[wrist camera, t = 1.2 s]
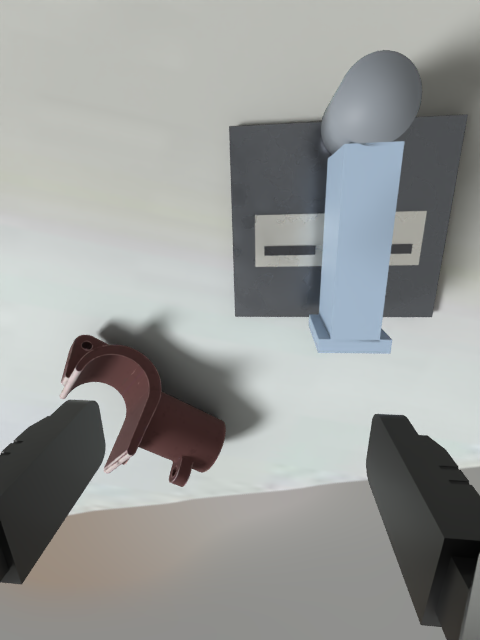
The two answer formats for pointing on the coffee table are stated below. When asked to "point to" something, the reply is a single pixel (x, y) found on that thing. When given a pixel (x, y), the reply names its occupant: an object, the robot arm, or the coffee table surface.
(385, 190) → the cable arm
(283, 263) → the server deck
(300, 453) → the coffee table surface
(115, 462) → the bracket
